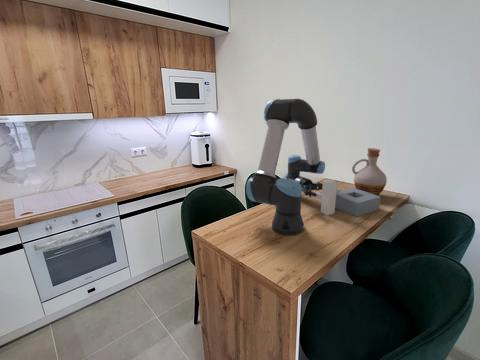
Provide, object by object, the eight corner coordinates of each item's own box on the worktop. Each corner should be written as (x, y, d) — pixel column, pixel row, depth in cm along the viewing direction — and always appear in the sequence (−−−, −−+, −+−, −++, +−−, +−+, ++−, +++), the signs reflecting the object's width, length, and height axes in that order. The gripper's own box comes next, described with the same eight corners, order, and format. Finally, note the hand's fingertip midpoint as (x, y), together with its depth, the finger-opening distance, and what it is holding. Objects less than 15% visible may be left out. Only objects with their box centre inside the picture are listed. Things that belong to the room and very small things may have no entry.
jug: (349, 199, 153) (354, 150, 144) (349, 190, 169) (354, 145, 160) (385, 203, 146) (393, 152, 137) (382, 193, 161) (389, 147, 153)
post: (327, 215, 132) (330, 182, 127) (320, 211, 137) (322, 180, 131) (334, 213, 135) (337, 181, 129) (327, 210, 139) (329, 179, 134)
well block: (356, 216, 130) (357, 203, 128) (329, 205, 145) (330, 192, 143) (378, 209, 138) (380, 196, 135) (351, 199, 153) (352, 187, 151)
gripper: (319, 186, 156) (346, 196, 138) (286, 193, 146) (312, 205, 128) (319, 174, 154) (348, 183, 136) (287, 181, 143) (313, 191, 125)
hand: (331, 194), depth 132 cm, fingers open, 13 cm apart
